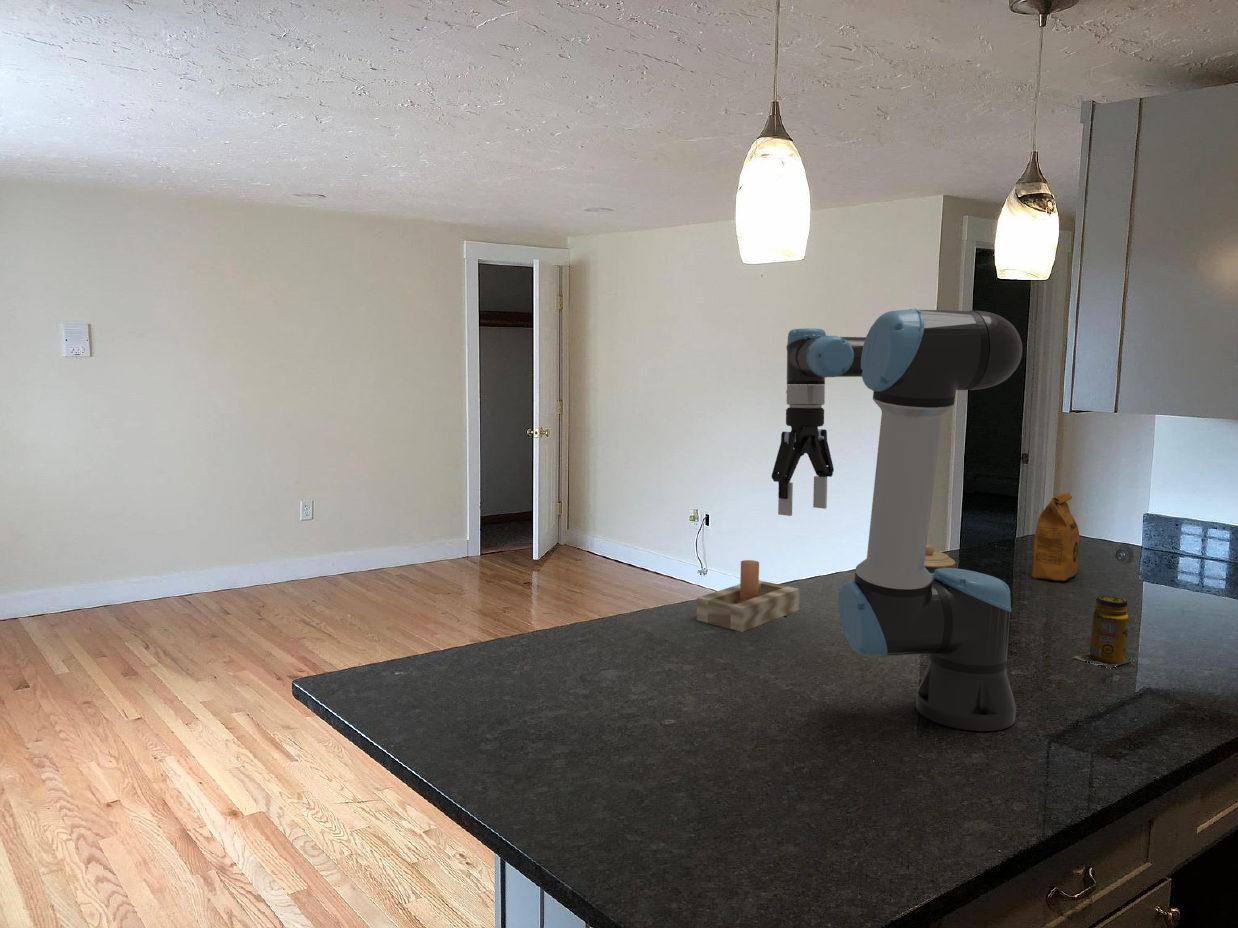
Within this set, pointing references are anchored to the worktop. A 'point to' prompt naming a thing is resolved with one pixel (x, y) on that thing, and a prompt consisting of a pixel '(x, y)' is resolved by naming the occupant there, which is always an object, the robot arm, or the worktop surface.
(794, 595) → the socket block
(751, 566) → the peg
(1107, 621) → the condiment
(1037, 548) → the coffee package
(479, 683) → the worktop surface
